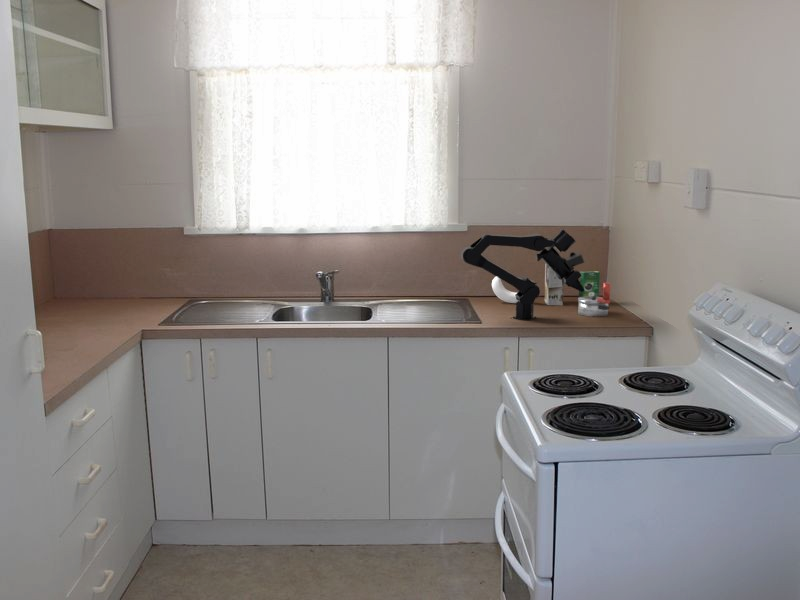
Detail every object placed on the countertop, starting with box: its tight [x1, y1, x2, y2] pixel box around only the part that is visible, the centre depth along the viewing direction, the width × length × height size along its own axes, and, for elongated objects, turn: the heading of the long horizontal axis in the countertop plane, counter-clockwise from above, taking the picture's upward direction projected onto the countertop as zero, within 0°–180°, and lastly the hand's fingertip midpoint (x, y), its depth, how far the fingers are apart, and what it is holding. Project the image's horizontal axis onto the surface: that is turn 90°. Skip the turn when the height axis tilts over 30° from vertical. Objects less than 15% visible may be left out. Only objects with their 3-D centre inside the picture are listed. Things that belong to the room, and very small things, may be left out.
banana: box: [491, 276, 518, 304], centre depth 330 cm, size 5×19×15 cm, turn 83°
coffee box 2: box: [578, 270, 601, 298], centre depth 330 cm, size 8×3×13 cm, turn 109°
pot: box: [577, 302, 610, 318], centre depth 310 cm, size 16×11×4 cm
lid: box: [577, 282, 611, 305], centre depth 307 cm, size 15×12×8 cm
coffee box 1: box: [544, 262, 565, 306], centre depth 330 cm, size 9×6×16 cm
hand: (583, 291), depth 301 cm, fingers closed
